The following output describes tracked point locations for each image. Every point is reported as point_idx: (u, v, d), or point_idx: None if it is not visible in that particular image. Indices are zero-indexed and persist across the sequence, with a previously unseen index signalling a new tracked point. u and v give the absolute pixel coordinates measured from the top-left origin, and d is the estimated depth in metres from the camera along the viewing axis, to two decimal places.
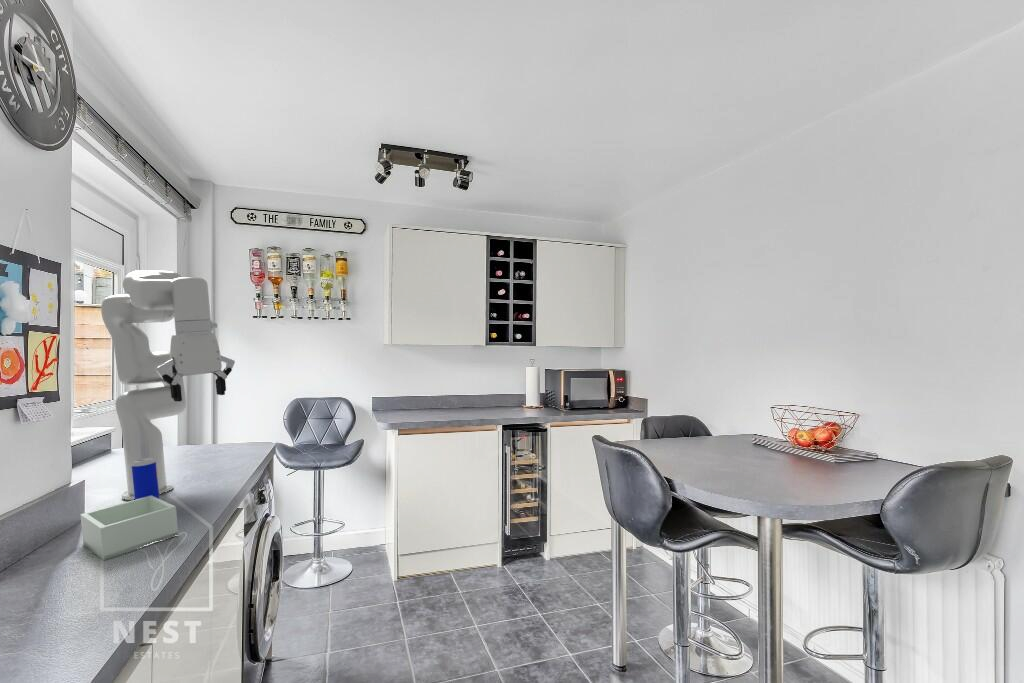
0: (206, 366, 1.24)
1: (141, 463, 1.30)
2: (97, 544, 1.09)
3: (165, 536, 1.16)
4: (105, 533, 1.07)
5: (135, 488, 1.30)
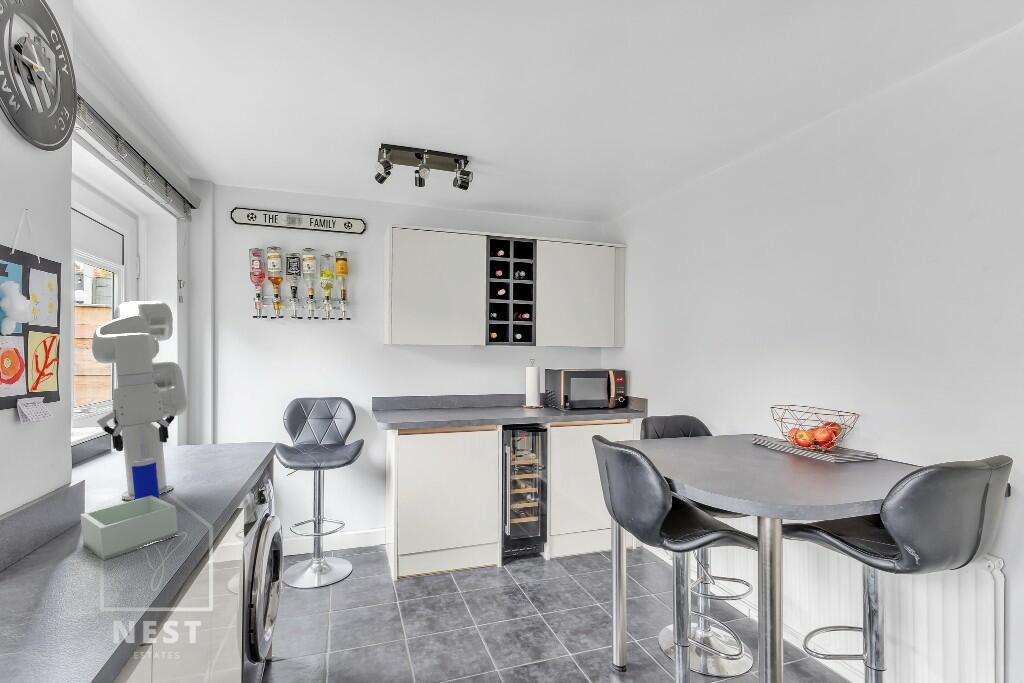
0: (147, 416, 1.31)
1: (141, 463, 1.30)
2: (97, 544, 1.09)
3: (165, 536, 1.16)
4: (105, 533, 1.07)
5: (135, 488, 1.30)
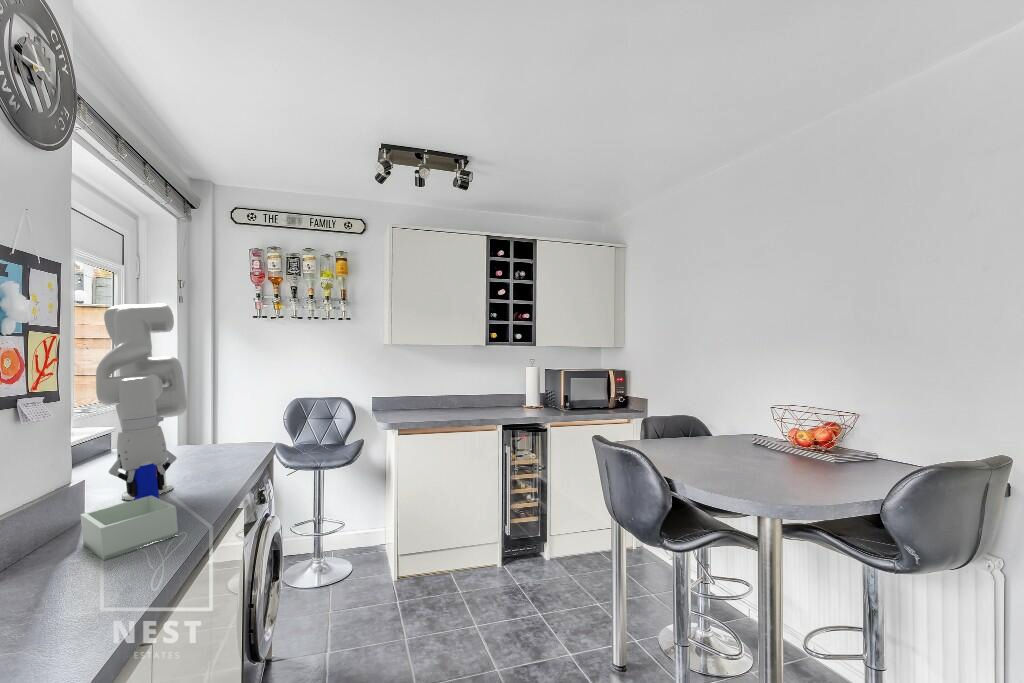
0: (152, 459, 1.32)
1: None
2: (97, 544, 1.09)
3: (165, 536, 1.16)
4: (105, 533, 1.07)
5: None
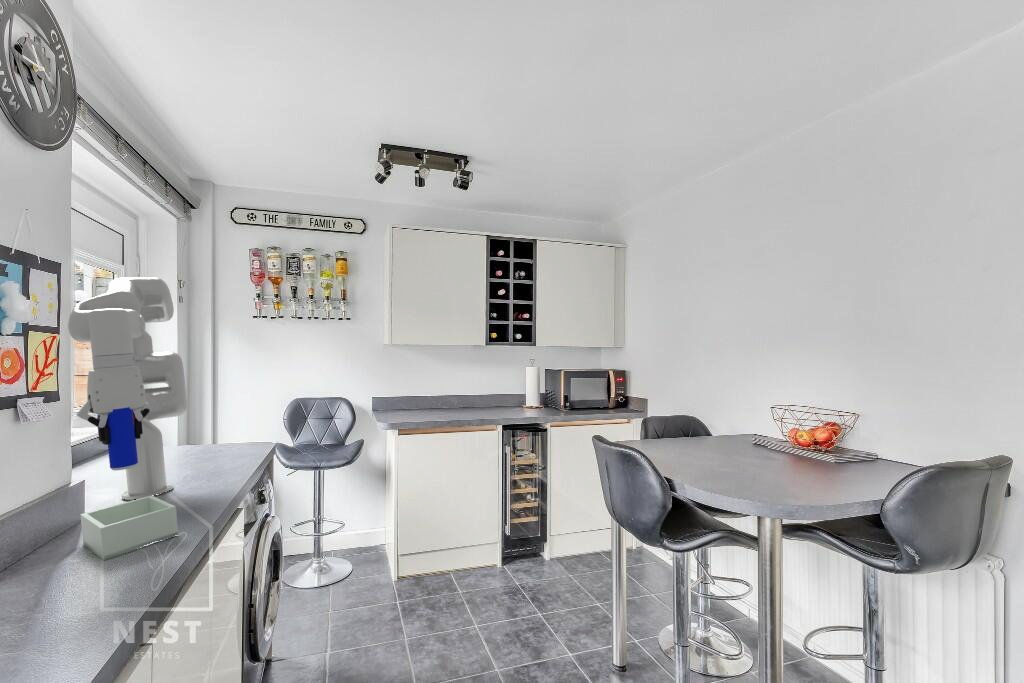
0: (127, 403, 1.16)
1: None
2: (97, 544, 1.09)
3: (165, 536, 1.16)
4: (105, 533, 1.07)
5: None
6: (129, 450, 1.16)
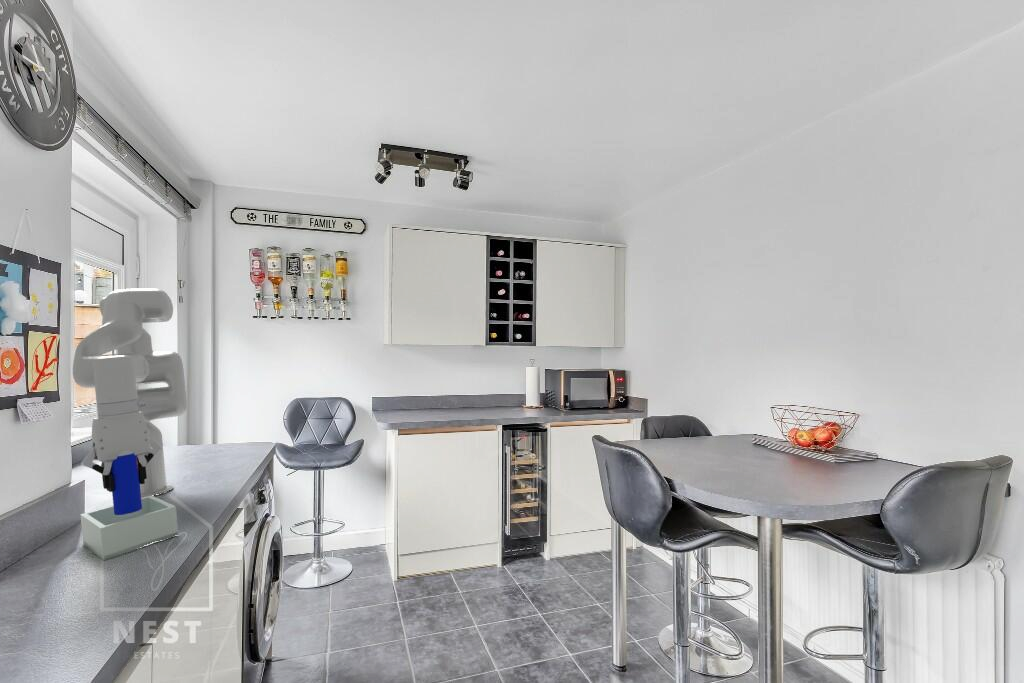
0: (131, 449, 1.16)
1: None
2: (97, 544, 1.09)
3: (165, 536, 1.16)
4: (105, 533, 1.07)
5: None
6: (133, 496, 1.16)
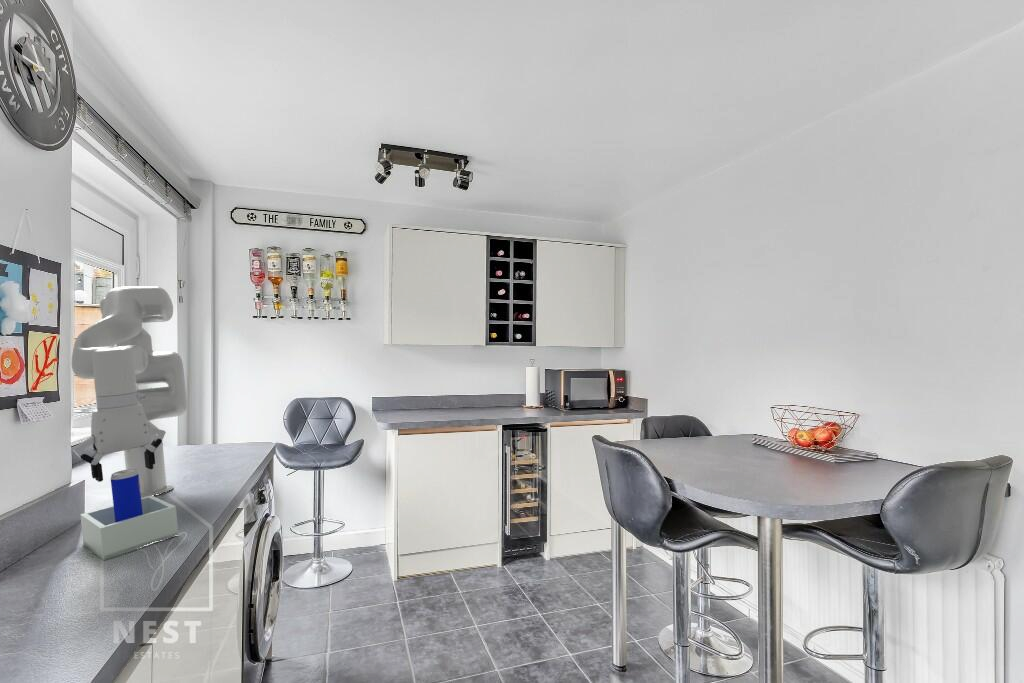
0: (131, 441, 1.17)
1: (121, 476, 1.15)
2: (97, 544, 1.09)
3: (165, 536, 1.16)
4: (105, 533, 1.07)
5: (115, 504, 1.15)
6: None
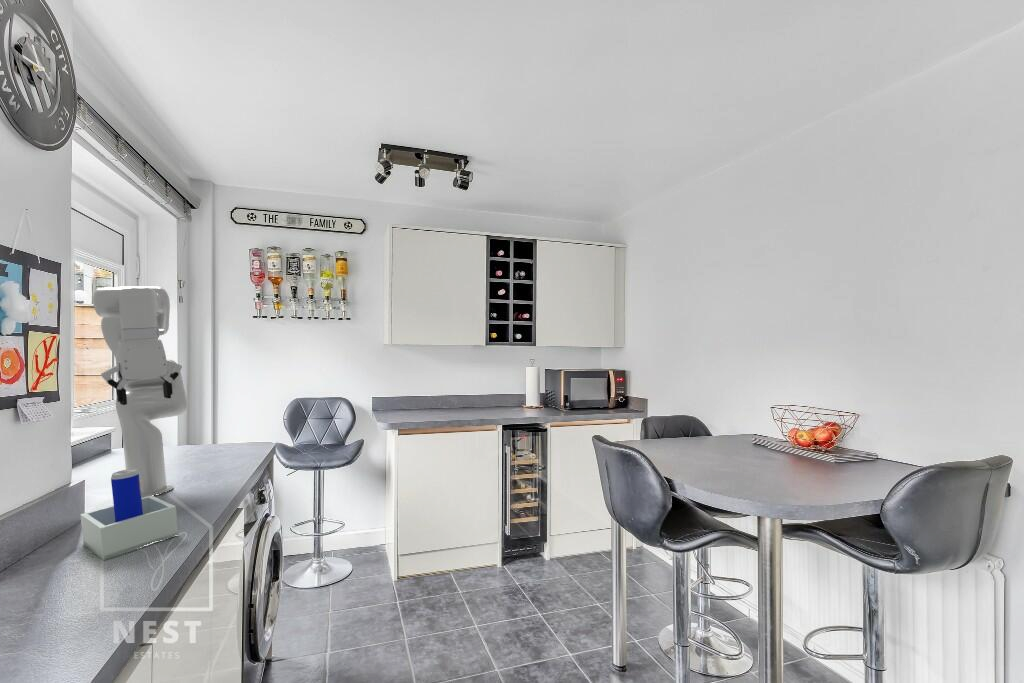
0: (152, 371, 1.31)
1: (122, 476, 1.15)
2: (97, 544, 1.09)
3: (165, 536, 1.16)
4: (105, 533, 1.07)
5: (115, 504, 1.15)
6: None
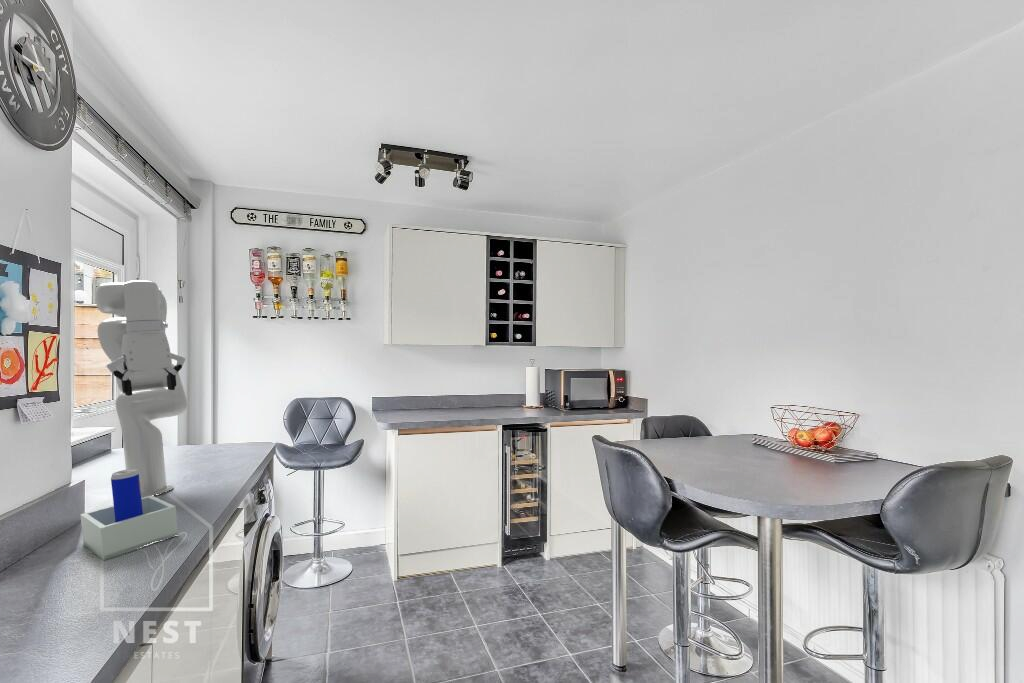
0: (156, 363, 1.33)
1: (122, 476, 1.15)
2: (97, 544, 1.09)
3: (165, 536, 1.16)
4: (105, 533, 1.07)
5: (115, 504, 1.15)
6: None
